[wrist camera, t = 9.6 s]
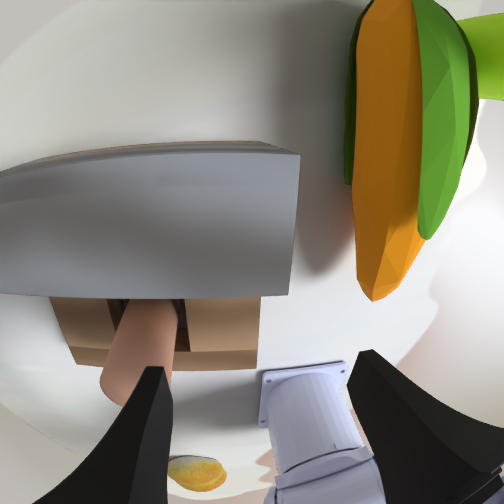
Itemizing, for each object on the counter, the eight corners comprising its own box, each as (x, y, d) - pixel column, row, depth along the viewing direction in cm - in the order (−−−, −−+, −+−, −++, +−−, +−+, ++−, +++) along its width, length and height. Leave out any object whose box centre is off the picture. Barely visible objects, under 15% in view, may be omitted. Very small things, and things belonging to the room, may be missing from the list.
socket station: (252, 345, 22) (268, 431, 15) (85, 343, 20) (55, 419, 13) (260, 141, 16) (300, 155, 8) (42, 158, 14) (-42, 188, 7)
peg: (179, 325, 20) (170, 415, 13) (132, 319, 20) (106, 405, 12) (181, 283, 19) (168, 374, 12) (129, 277, 18) (93, 362, 11)
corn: (495, 6, 6) (450, 331, 14) (427, 27, 13) (399, 273, 21) (384, -57, 5) (346, 345, 13) (335, -5, 12) (312, 273, 20)
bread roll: (215, 451, 30) (217, 477, 26) (229, 472, 34) (232, 493, 30) (156, 454, 29) (154, 478, 26) (178, 475, 33) (178, 496, 30)
